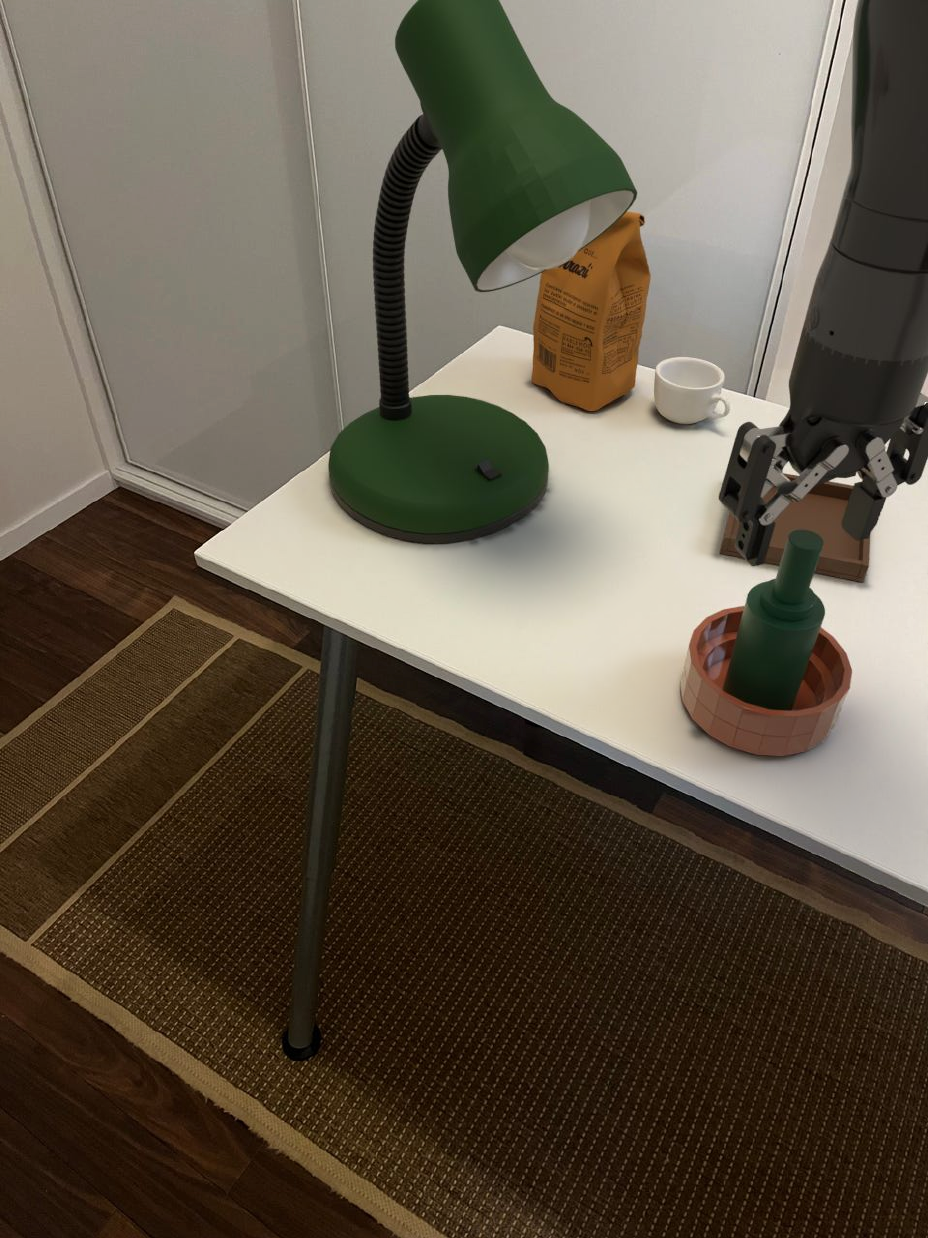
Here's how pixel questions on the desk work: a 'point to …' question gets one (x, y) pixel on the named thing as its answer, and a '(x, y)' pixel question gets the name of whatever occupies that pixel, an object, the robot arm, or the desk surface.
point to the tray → (821, 517)
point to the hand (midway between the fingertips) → (802, 546)
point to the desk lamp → (470, 270)
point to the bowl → (753, 723)
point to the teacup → (688, 390)
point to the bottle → (778, 629)
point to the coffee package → (593, 318)
